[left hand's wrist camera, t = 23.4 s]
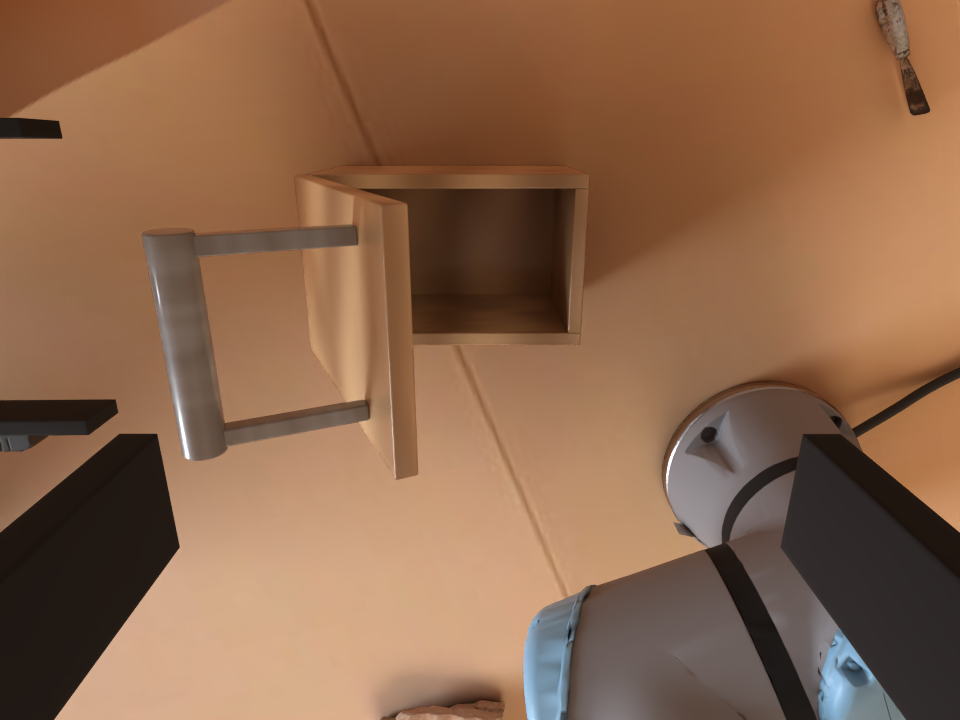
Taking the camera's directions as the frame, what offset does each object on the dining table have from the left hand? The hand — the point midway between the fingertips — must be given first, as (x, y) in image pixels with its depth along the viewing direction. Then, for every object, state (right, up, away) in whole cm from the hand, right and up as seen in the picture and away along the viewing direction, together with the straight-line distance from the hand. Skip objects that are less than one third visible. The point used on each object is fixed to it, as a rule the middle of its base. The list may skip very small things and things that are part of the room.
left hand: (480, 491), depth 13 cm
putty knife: (+28, +23, +28) cm, 45 cm away
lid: (-6, +6, +15) cm, 17 cm away
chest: (-2, +12, +32) cm, 34 cm away
